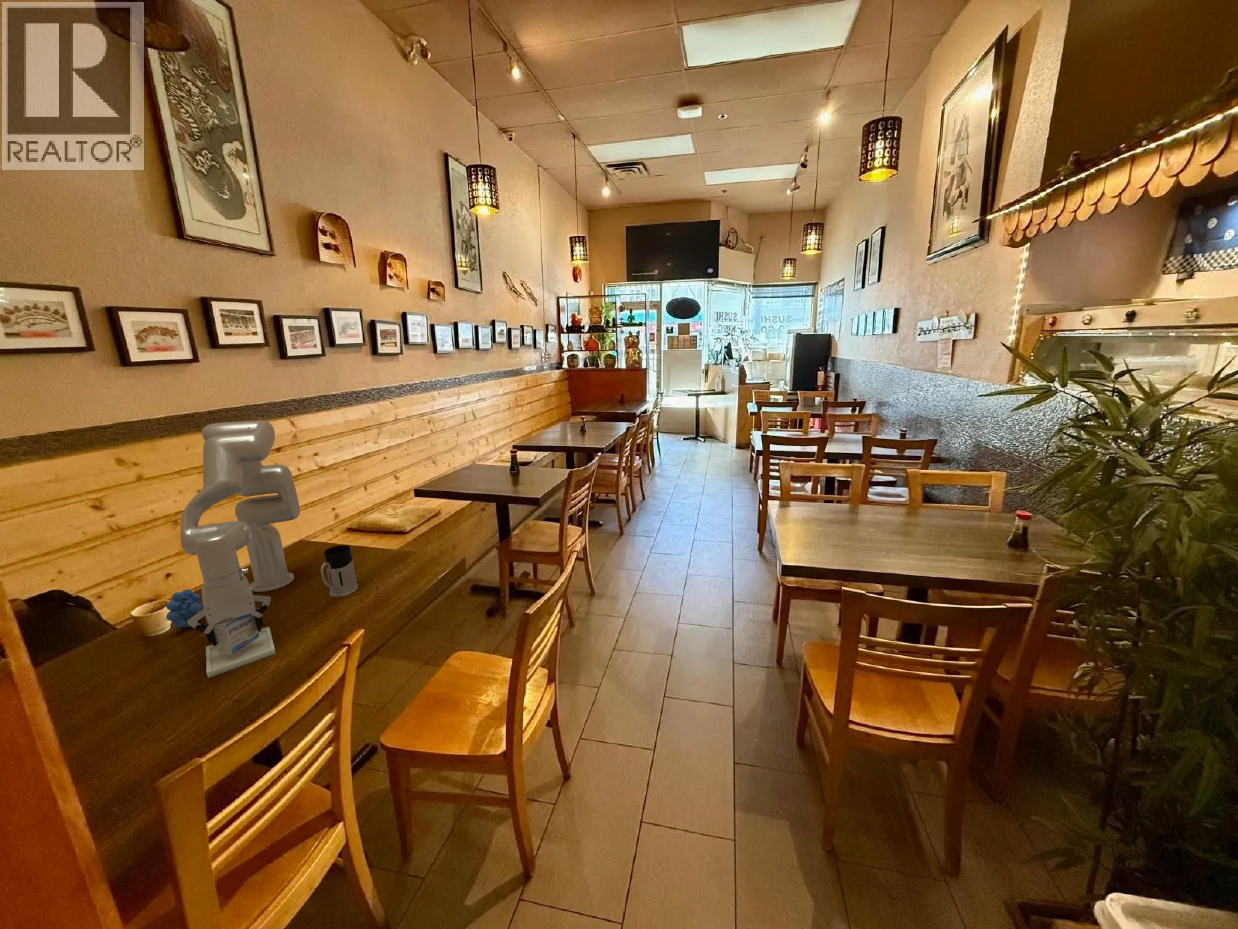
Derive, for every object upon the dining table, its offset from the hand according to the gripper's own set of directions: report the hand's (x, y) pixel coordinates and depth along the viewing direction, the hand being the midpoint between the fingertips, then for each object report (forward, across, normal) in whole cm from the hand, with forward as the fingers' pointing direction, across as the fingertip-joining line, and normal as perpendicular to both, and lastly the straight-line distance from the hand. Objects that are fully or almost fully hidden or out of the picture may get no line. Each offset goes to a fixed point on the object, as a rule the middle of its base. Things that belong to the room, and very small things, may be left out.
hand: (237, 636), depth 126 cm
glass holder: (+5, -27, -17) cm, 32 cm away
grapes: (+5, +10, -26) cm, 28 cm away
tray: (+5, 0, 0) cm, 5 cm away
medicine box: (+3, 0, 0) cm, 3 cm away
